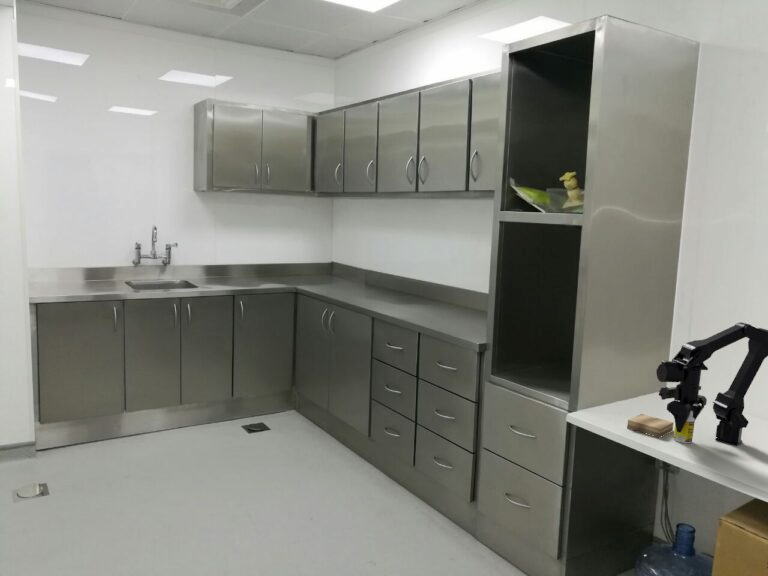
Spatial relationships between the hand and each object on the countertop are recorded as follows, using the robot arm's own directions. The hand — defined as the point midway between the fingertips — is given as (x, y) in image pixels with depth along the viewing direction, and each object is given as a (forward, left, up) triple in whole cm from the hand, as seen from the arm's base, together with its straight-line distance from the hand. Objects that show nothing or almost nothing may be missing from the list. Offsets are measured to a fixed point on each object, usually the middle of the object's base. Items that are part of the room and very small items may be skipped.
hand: (684, 429), depth 205 cm
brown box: (+12, -2, -4) cm, 12 cm away
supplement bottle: (0, 0, -4) cm, 4 cm away
